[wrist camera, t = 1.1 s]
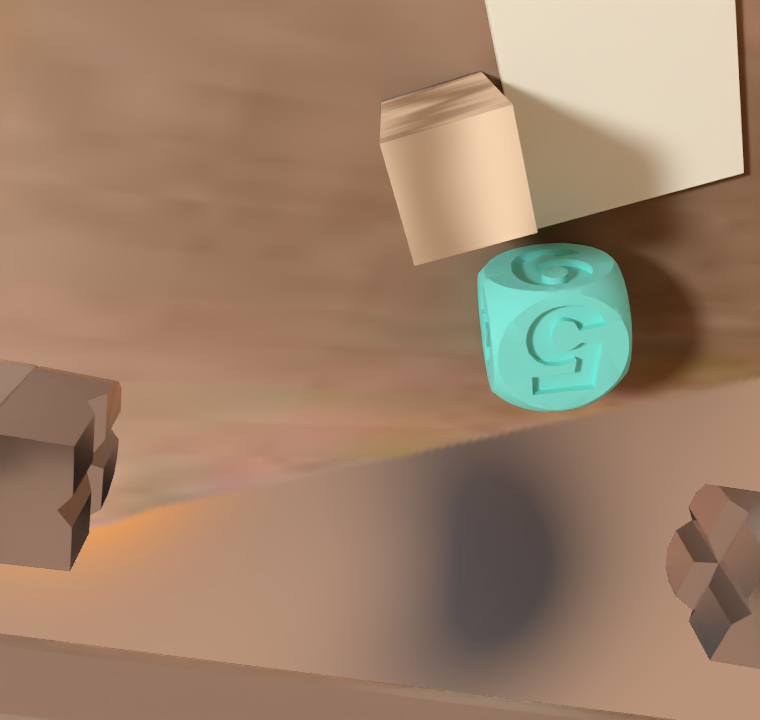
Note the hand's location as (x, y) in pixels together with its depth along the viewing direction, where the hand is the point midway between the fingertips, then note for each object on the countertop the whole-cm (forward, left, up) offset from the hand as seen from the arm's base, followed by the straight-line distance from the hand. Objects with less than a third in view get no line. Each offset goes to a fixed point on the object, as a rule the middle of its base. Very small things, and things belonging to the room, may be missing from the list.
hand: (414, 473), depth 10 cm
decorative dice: (-6, +16, -37) cm, 40 cm away
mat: (-13, +3, -37) cm, 39 cm away
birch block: (-2, +3, -37) cm, 37 cm away
